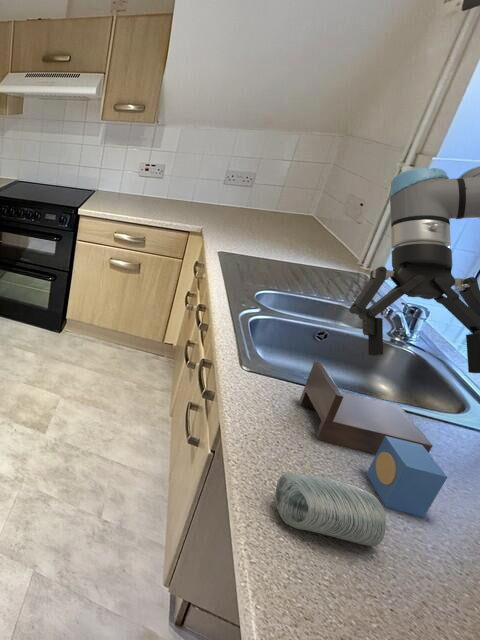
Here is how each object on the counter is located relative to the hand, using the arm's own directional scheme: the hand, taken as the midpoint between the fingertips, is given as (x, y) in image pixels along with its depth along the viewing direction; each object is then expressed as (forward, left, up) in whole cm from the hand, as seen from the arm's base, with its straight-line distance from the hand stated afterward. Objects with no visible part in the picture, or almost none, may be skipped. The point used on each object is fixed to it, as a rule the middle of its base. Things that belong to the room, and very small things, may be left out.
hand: (425, 363), depth 71 cm
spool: (+16, +22, -21) cm, 34 cm away
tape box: (+2, +10, -21) cm, 23 cm away
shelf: (+2, -6, -21) cm, 22 cm away
